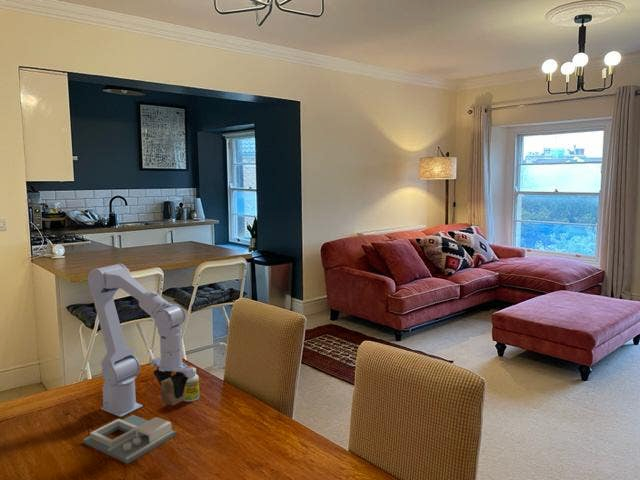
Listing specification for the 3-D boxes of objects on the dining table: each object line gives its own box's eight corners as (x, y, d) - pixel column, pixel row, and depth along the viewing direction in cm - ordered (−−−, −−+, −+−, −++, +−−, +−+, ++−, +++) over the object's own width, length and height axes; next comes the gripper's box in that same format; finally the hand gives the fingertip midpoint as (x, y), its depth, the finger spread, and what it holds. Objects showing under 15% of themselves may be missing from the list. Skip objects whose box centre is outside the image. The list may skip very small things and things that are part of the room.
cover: (135, 437, 135) (135, 427, 135) (156, 426, 141) (156, 416, 141) (151, 443, 132) (150, 433, 132) (171, 432, 138) (171, 422, 138)
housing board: (83, 442, 134) (82, 434, 134) (133, 417, 148) (132, 409, 148) (127, 463, 125) (126, 454, 125) (176, 434, 139) (176, 426, 138)
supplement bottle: (196, 393, 164) (195, 365, 163) (202, 399, 160) (201, 370, 158) (179, 397, 161) (178, 368, 160) (185, 403, 157) (184, 374, 155)
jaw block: (161, 401, 142) (160, 381, 141) (173, 395, 146) (173, 375, 145) (172, 405, 140) (172, 385, 139) (184, 399, 144) (184, 379, 143)
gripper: (141, 348, 141) (143, 394, 143) (179, 358, 134) (180, 407, 136) (161, 340, 147) (163, 385, 149) (198, 350, 140) (199, 396, 142)
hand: (172, 394), depth 143 cm, fingers closed on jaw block, 4 cm apart
